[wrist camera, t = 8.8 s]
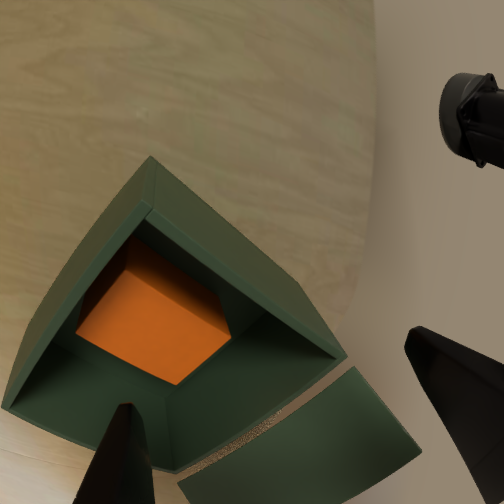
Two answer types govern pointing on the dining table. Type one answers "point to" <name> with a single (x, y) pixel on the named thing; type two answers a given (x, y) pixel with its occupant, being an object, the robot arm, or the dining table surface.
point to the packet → (152, 314)
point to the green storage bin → (204, 376)
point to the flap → (312, 453)
